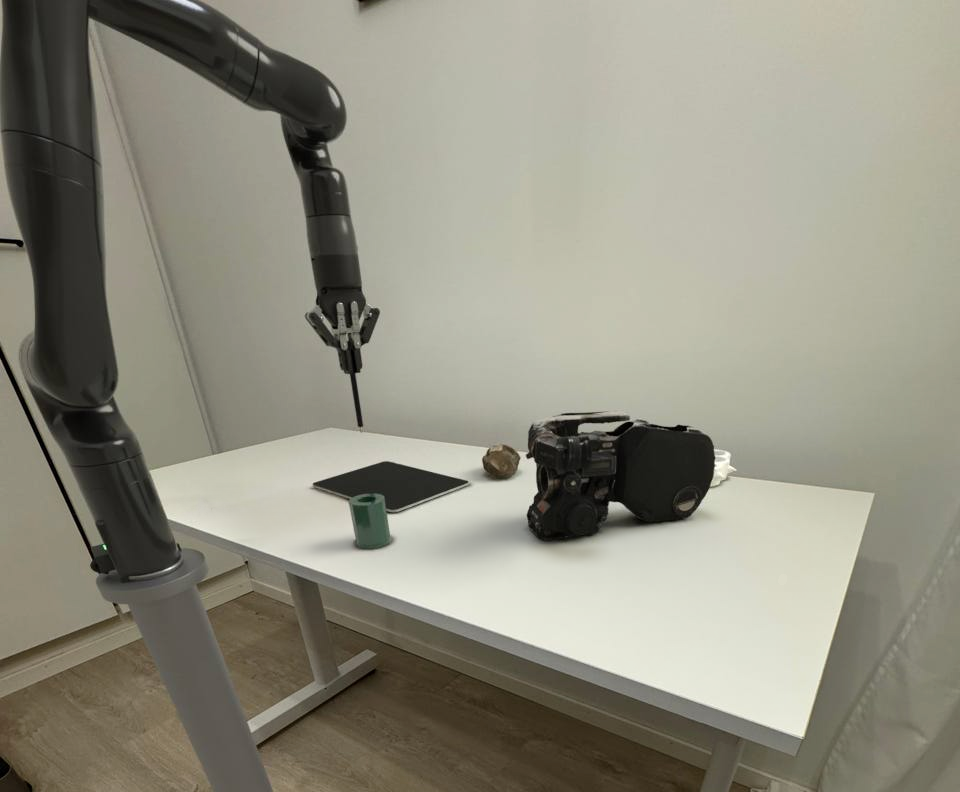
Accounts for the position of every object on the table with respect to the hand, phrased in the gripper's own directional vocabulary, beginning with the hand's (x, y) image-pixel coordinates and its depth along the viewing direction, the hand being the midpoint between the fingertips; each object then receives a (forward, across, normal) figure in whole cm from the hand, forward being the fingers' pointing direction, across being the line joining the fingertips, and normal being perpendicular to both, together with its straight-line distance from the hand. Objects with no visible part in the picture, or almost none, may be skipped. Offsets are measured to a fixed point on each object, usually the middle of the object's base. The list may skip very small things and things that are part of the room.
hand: (352, 372), depth 97 cm
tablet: (+22, -5, -1) cm, 22 cm away
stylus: (+10, 0, 0) cm, 10 cm away
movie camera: (+22, -19, +44) cm, 53 cm away
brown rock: (+22, -26, +9) cm, 35 cm away
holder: (+22, +11, +22) cm, 33 cm away
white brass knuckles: (+21, -50, +38) cm, 66 cm away
